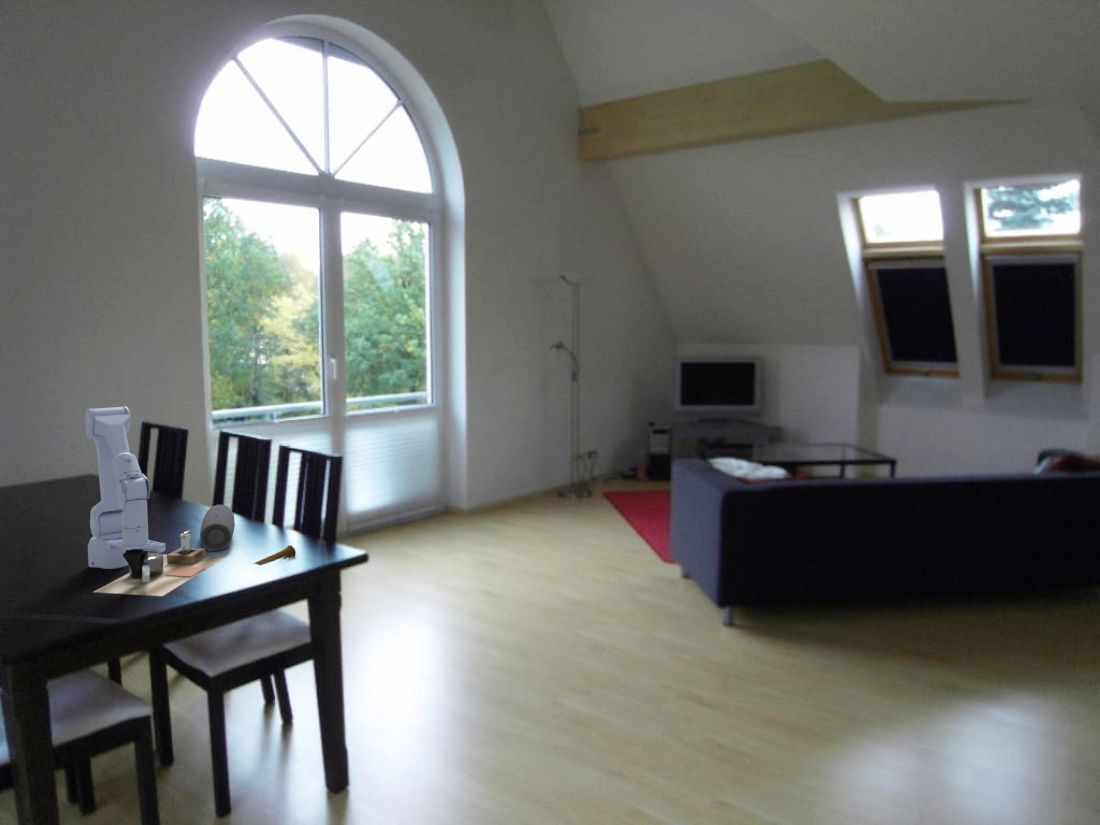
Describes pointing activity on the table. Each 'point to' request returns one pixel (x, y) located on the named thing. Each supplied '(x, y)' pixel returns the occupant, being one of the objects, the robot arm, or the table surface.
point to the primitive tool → (278, 555)
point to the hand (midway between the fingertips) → (137, 577)
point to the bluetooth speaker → (217, 528)
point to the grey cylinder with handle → (151, 566)
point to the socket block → (186, 557)
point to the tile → (185, 571)
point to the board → (155, 580)
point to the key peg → (185, 542)
